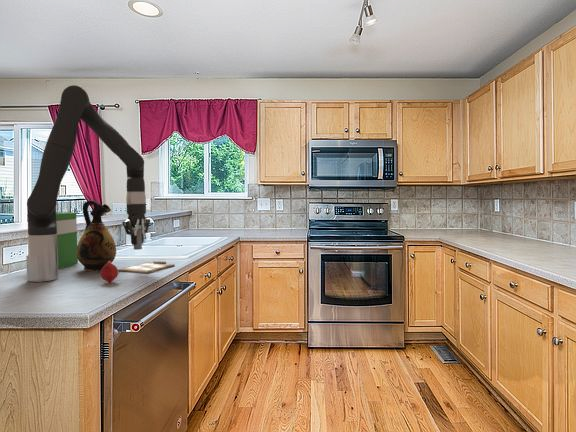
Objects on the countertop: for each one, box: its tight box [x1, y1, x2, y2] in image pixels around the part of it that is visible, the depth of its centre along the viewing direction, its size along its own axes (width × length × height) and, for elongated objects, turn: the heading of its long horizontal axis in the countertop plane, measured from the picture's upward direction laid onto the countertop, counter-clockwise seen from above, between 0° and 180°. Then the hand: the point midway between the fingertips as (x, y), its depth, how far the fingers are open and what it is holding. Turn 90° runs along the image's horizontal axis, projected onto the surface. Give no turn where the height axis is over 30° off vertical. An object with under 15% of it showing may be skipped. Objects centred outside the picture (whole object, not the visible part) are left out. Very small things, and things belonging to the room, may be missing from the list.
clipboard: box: [117, 260, 176, 274], centre depth 167 cm, size 18×15×2 cm
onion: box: [100, 261, 119, 284], centre depth 140 cm, size 6×6×8 cm
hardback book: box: [56, 212, 79, 270], centre depth 172 cm, size 18×7×24 cm, turn 178°
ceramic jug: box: [77, 199, 117, 272], centre depth 165 cm, size 17×15×30 cm
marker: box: [133, 225, 143, 250], centre depth 160 cm, size 3×3×10 cm
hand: (137, 243), depth 160 cm, fingers closed on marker, 3 cm apart
